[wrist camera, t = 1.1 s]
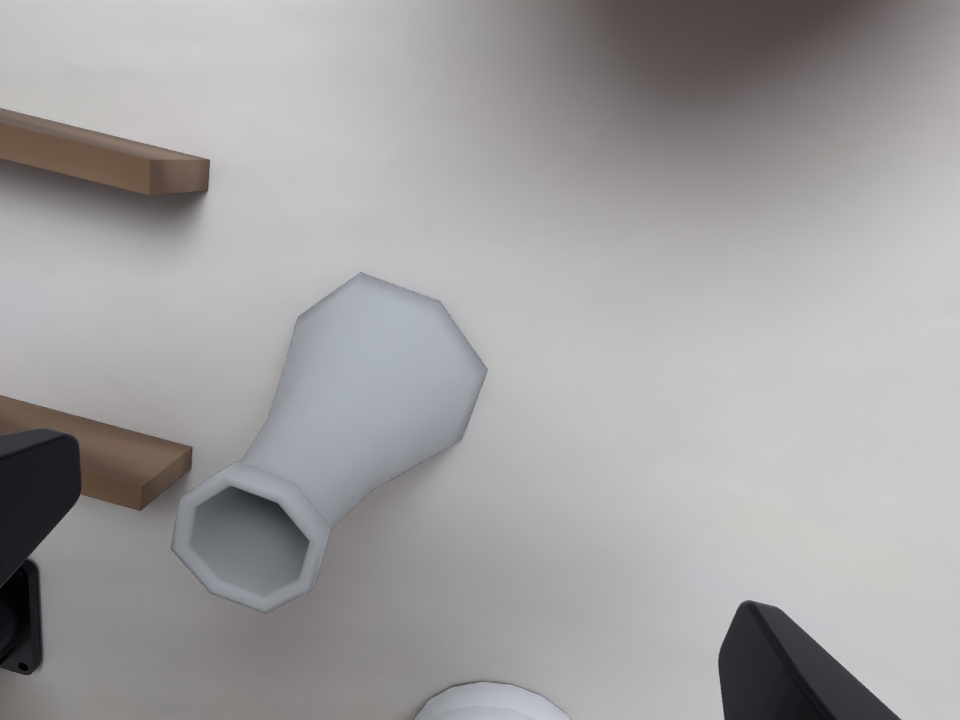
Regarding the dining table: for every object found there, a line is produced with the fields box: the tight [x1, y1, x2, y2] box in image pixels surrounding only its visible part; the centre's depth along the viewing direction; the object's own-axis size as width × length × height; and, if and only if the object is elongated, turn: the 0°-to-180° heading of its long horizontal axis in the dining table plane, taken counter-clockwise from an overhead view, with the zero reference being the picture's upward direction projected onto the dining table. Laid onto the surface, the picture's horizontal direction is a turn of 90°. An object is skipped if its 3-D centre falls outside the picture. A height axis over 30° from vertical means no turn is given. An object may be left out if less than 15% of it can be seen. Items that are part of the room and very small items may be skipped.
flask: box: [171, 272, 488, 614], centre depth 17 cm, size 7×7×10 cm
